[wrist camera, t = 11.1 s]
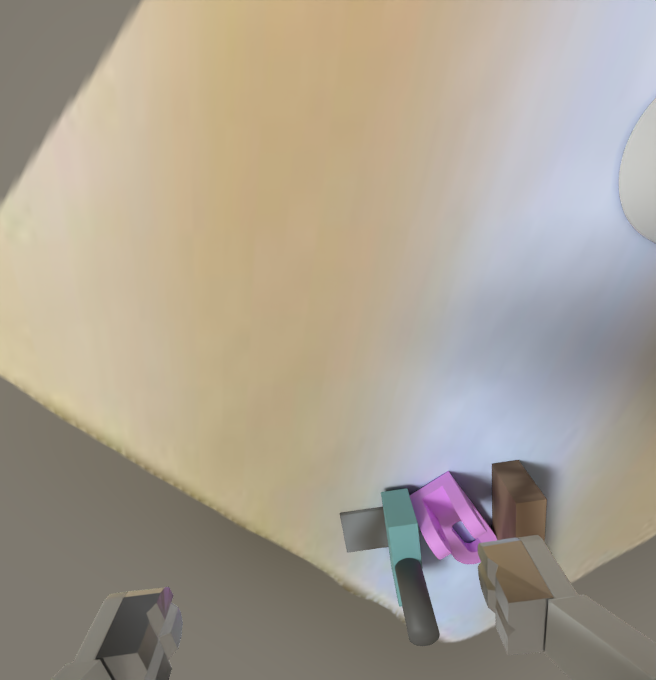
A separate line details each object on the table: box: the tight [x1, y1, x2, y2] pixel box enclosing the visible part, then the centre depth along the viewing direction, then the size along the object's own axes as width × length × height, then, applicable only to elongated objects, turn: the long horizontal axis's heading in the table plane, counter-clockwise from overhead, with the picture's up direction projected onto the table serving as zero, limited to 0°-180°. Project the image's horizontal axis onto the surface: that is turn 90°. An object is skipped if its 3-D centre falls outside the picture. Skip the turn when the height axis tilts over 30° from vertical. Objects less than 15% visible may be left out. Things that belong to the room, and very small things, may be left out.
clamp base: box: [340, 460, 547, 552], centre depth 46 cm, size 21×14×6 cm, turn 99°
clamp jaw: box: [381, 488, 439, 646], centre depth 42 cm, size 3×12×12 cm, turn 9°
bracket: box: [410, 471, 497, 564], centre depth 45 cm, size 13×6×7 cm, turn 35°
